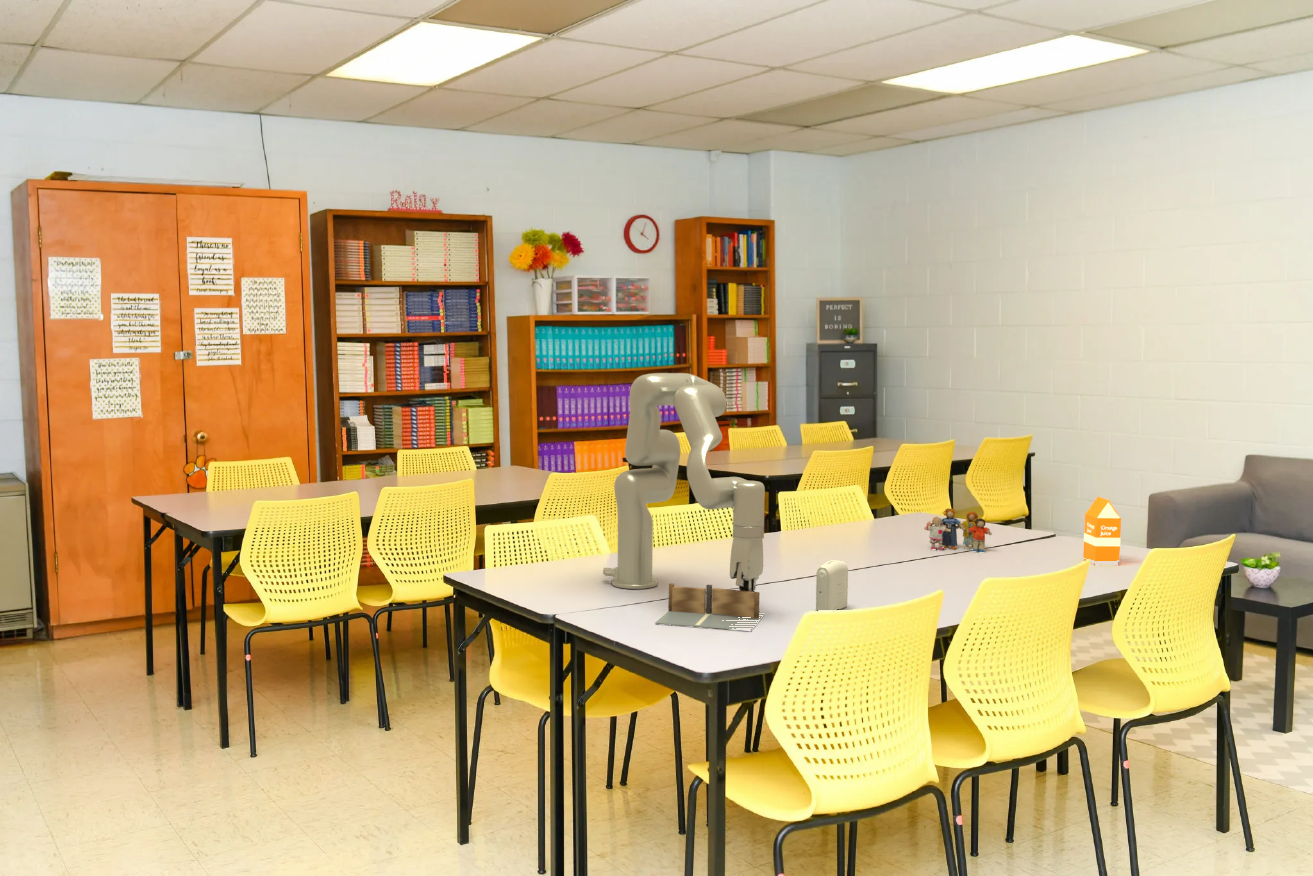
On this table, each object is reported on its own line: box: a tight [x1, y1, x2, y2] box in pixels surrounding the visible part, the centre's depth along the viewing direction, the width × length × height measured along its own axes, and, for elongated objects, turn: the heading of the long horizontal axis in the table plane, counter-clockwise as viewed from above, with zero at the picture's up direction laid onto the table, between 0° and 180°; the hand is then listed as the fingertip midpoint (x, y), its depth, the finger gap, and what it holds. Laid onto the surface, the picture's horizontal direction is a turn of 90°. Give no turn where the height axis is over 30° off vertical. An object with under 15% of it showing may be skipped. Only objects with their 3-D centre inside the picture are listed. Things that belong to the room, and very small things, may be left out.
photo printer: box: [815, 559, 849, 611], centre depth 281 cm, size 10×4×12 cm, turn 140°
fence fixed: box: [667, 583, 713, 614], centre depth 275 cm, size 11×1×7 cm, turn 74°
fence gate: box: [712, 587, 761, 618], centre depth 271 cm, size 12×1×6 cm, turn 68°
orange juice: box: [1082, 496, 1122, 561], centre depth 345 cm, size 8×9×20 cm
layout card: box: [654, 608, 765, 630], centre depth 270 cm, size 23×18×1 cm
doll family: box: [923, 508, 993, 553], centre depth 367 cm, size 21×10×13 cm, turn 77°
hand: (747, 606), depth 274 cm, fingers closed
